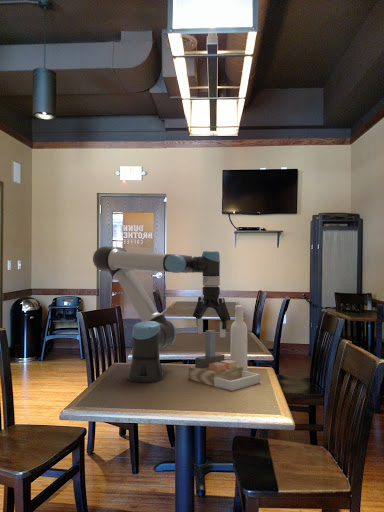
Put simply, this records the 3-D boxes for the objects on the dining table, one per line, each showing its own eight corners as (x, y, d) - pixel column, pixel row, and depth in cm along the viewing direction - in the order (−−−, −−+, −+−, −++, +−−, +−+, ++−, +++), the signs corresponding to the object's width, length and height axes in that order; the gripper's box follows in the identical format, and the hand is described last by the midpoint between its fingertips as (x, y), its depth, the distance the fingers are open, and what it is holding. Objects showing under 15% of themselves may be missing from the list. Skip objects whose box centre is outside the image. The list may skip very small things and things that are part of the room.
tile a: (208, 369, 173) (208, 363, 173) (217, 367, 177) (217, 361, 177) (217, 372, 170) (217, 365, 170) (225, 370, 173) (225, 364, 173)
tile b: (220, 367, 178) (220, 361, 178) (227, 365, 181) (228, 359, 182) (229, 369, 174) (229, 363, 174) (236, 367, 178) (236, 361, 178)
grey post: (195, 367, 178) (195, 331, 178) (217, 362, 187) (218, 328, 188) (201, 368, 175) (202, 332, 175) (224, 363, 184) (224, 329, 185)
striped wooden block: (188, 378, 178) (188, 367, 178) (217, 372, 190) (217, 361, 190) (214, 386, 167) (214, 373, 167) (243, 378, 179) (243, 366, 179)
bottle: (248, 369, 195) (248, 305, 196) (246, 373, 188) (247, 306, 189) (231, 368, 197) (231, 304, 198) (228, 372, 190) (229, 306, 191)
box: (214, 386, 167) (214, 377, 167) (243, 378, 179) (243, 370, 179) (231, 391, 160) (231, 382, 160) (259, 382, 173) (260, 374, 173)
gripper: (185, 285, 189) (185, 332, 188) (226, 287, 170) (226, 339, 170) (197, 285, 194) (197, 331, 193) (238, 286, 176) (238, 337, 175)
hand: (211, 335), depth 181 cm, fingers open, 13 cm apart
